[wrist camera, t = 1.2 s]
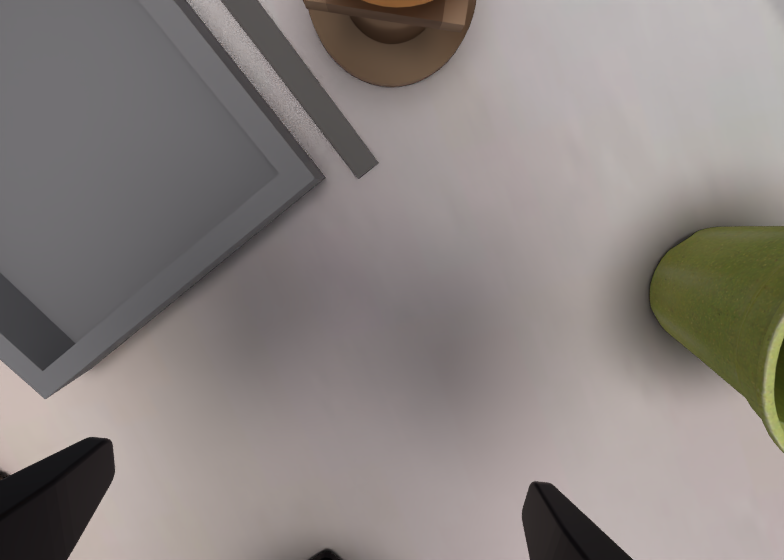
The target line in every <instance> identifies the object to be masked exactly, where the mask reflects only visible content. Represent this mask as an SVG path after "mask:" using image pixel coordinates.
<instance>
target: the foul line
mask: <svg viewBox="0 0 784 560" xmlns="http://www.w3.org/2000/svg"><path fill="white" fill-rule="evenodd" d="M221 1H222V2H223V3H224V5H225V6H226V7H227V8H228V10H229V11H230V12H231V14H232V15H233V16H234V18H235V19H236V20H237V21H238V23H239V24H240V25H241V27H242V28H243V29H244V31H245V32H246V33H247V34H248V36H249V37H250V38H251V40H252V41H253V42H254V44H255V45H256V46H257V48H258V49H259V50H260V51H261V53H262V54H263V55H264V57H265V58H266V59H267V61H268V62H269V63H270V64H271V66H272V67H273V68H274V70H275V71H276V72H277V74H278V75H279V76H280V77H281V79H282V80H283V81H284V83H285V84H286V85H287V87H288V88H289V89H290V91H291V92H292V93H293V94H294V96H295V97H296V98H297V100H298V101H299V102H300V104H301V105H302V106H303V107H304V109H305V110H306V111H307V113H308V114H309V115H310V117H311V118H312V119H313V121H314V122H315V123H316V124H317V126H318V127H319V128H320V130H321V131H322V132H323V134H324V135H325V136H326V137H327V139H328V140H329V141H330V143H331V144H332V145H333V147H334V148H335V149H336V150H337V152H338V153H339V154H340V156H341V157H342V158H343V160H344V161H345V162H346V164H347V165H348V166H349V167H350V169H351V170H352V171H353V173H354V174H355V175H356V177H357V178H358V179H359V178H360V177H361V176H363V175H364V174H365V173H366V172H368V171H369V170H370V169H371V168H373V167H374V166H375V165H376V164H378V161H377V160H376V159H375V157H374V156H373V155H372V153H371V152H370V151H369V149H368V148H367V147H366V145H365V144H364V143H363V141H362V140H361V138H360V137H359V136H358V134H357V133H356V132H355V130H354V129H353V128H352V126H351V125H350V124H349V122H348V121H347V120H346V118H345V117H344V116H343V114H342V113H341V112H340V110H339V109H338V108H337V106H336V105H335V104H334V102H333V101H332V100H331V98H330V97H329V96H328V94H327V93H326V92H325V90H324V89H323V88H322V86H321V85H320V84H319V82H318V81H317V80H316V78H315V77H314V76H313V74H312V73H311V72H310V70H309V69H308V67H307V66H306V65H305V63H304V62H303V61H302V59H301V58H300V57H299V55H298V54H297V53H296V51H295V50H294V49H293V47H292V46H291V45H290V43H289V42H288V41H287V39H286V38H285V37H284V35H283V34H282V33H281V31H280V30H279V29H278V27H277V26H276V25H275V23H274V22H273V21H272V19H271V18H270V17H269V15H268V14H267V13H266V11H265V10H264V9H263V7H262V6H261V5H260V3H259V2H258V1H257V0H221Z"/></svg>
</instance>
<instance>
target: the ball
mask: <svg viewBox="0 0 784 560" xmlns="http://www.w3.org/2000/svg"><path fill="white" fill-rule="evenodd" d="M363 1H365V2H368V3H371V4H375V5H379V6H384V7H396V8H397V7H411V6H416V5H420V4H425V3H427V2H430V1H433V0H363Z"/></svg>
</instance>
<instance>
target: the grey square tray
mask: <svg viewBox="0 0 784 560" xmlns="http://www.w3.org/2000/svg"><path fill="white" fill-rule="evenodd" d="M324 178H325V176H324V175H323V174H322V173H321V171H320V170H319V169H318V168H317V166H316V165H315V164H314V162H313V161H312V160H311V159H310V157H309V156H308V155H307V154H306V152H305V151H304V150H303V148H302V147H301V146H300V145H299V143H298V142H297V141H296V140H295V138H294V137H293V136H292V135H291V133H290V132H289V131H288V129H287V128H286V127H285V126H284V124H283V123H282V122H281V121H280V119H279V118H278V117H277V115H276V114H275V113H274V112H273V110H272V109H271V108H270V107H269V105H268V104H267V103H266V102H265V100H264V99H263V98H262V96H261V95H260V94H259V93H258V91H257V90H256V89H255V88H254V86H253V85H252V84H251V82H250V81H249V80H248V79H247V77H246V76H245V75H244V74H243V72H242V71H241V70H240V69H239V67H238V66H237V65H236V63H235V62H234V61H233V60H232V58H231V57H230V56H229V55H228V53H227V52H226V51H225V49H224V48H223V47H222V46H221V44H220V43H219V42H218V41H217V39H216V38H215V37H214V36H213V34H212V33H211V32H210V30H209V29H208V28H207V27H206V25H205V24H204V23H203V22H202V20H201V19H200V18H199V16H198V15H197V14H196V13H195V11H194V10H193V9H192V8H191V6H190V5H189V4H188V3H187V1H186V0H0V360H1V361H2V362H4V363H5V364H6V365H7V366H8V367H9V368H10V369H11V370H13V371H14V372H15V373H16V374H17V375H18V376H19V377H20V378H22V379H23V380H24V381H25V382H26V383H27V384H28V385H30V386H31V387H32V388H33V389H34V390H35V391H36V392H37V393H39V394H40V395H41V396H42V397H43V398H44V399H47V398H48V397H50V396H51V395H53V394H54V393H55V392H57V391H58V390H60V389H61V388H63V387H64V386H66V385H67V384H69V383H70V382H72V381H73V380H75V379H76V378H78V377H79V376H81V375H82V374H84V373H85V372H87V371H88V370H90V369H91V368H92V367H94V366H95V365H96V364H97V363H99V362H100V361H101V360H102V359H103V358H105V357H106V356H107V355H108V354H110V353H111V352H112V351H113V350H114V349H116V348H117V347H118V346H119V345H121V344H122V343H123V342H124V341H126V340H127V339H128V338H129V337H130V336H132V335H133V334H134V333H135V332H137V331H138V330H139V329H140V328H141V327H143V326H144V325H145V324H146V323H148V322H149V321H150V320H151V319H152V318H154V317H155V316H156V315H157V314H159V313H160V312H161V311H162V310H164V309H165V308H166V307H167V306H168V305H170V304H171V303H172V302H173V301H175V300H176V299H177V298H178V297H179V296H181V295H182V294H183V293H184V292H186V291H187V290H188V289H189V288H190V287H192V286H193V285H194V284H195V283H197V282H198V281H199V280H200V279H202V278H203V277H204V276H205V275H206V274H208V273H209V272H210V271H211V270H213V269H214V268H215V267H216V266H217V265H219V264H220V263H221V262H222V261H224V260H225V259H226V258H227V257H228V256H230V255H231V254H232V253H233V252H235V251H236V250H237V249H238V248H240V247H241V246H242V245H243V244H244V243H246V242H247V241H248V240H249V239H251V238H252V237H253V236H254V235H255V234H257V233H258V232H259V231H260V230H262V229H263V228H264V227H265V226H266V225H268V224H269V223H270V222H271V221H273V220H274V219H275V218H276V217H278V216H279V215H280V214H281V213H282V212H284V211H285V210H286V209H287V208H289V207H290V206H291V205H292V204H293V203H295V202H296V201H297V200H298V199H300V198H301V197H302V196H303V195H304V194H306V193H307V192H308V191H309V190H311V189H312V188H313V187H314V186H315V185H317V184H318V183H319V182H320V181H322V180H323V179H324Z"/></svg>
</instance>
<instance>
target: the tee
mask: <svg viewBox="0 0 784 560" xmlns="http://www.w3.org/2000/svg"><path fill="white" fill-rule="evenodd" d="M303 2H304V4H305V6H306V8H307V9H309V14H310V17H311V20H312V22H313V25H314V28H315V30H316V32H317V34H318V36H319V38H320V40H321V42H322V44H323V46H324V47H325V49H326V50H327V52H328V53H329V54H330V56H331V57H332V58H333V59H334V60H335V62H336V63H338V64H339V65H340V66H341V67H342V68H343V69H344V70H345V71H347V72H348V73H350V74H351V75H352V76H354V77H356V78H358V79H360V80H362V81H365V82H367V83H370V84H374V85H378V86H386V87H397V86H405V85H410V84H413V83H416V82H419V81H421V80H423V79H425V78H427V77H429V76H431V75H432V74H434V73H435V72H436V71H438V70H439V69H440V68H441V67H442V66H443V65H445V64H446V63H447V62H448V60H449V59H450V58H451V57H452V56H453V54H454V53H455V52H456V50H457V48H458V47H459V45H460V44H461V42H462V40H463V39H464V37H465V35H466V33H467V31H468V28H469V26H470V23H471V20H472V17H473V14H474V10H475V5H476V0H433V1H430V2H427V3H425V4H420V5H416V6H411V7H397V8H396V7H384V6H379V5H375V4H371V3H368V2H365V1H363V0H303Z"/></svg>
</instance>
